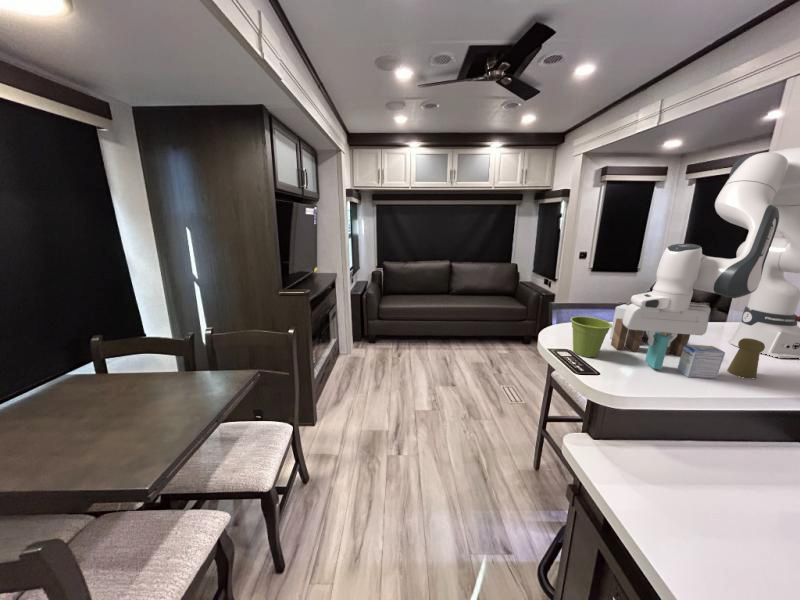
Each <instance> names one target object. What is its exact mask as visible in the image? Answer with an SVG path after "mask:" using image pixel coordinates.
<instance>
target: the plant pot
mask: <svg viewBox="0 0 800 600" xmlns="http://www.w3.org/2000/svg"><path fill="white" fill-rule="evenodd" d="M570 321H571V328H572V351H573V353H575V354H576V355H578V356H580V355H581V356H580V357H585V358H591V357H593V358H596V357H598V355H599V353H600V350H601V348H602V345H603V343H604V341H605V339H606V336H607V334H608V332H609V330H610V329H612V324H613V323H612V322H609V321H607V320H604V319H601V318H598V317H591V316H583V315H582V316H572V317H571V318H570Z"/></svg>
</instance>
